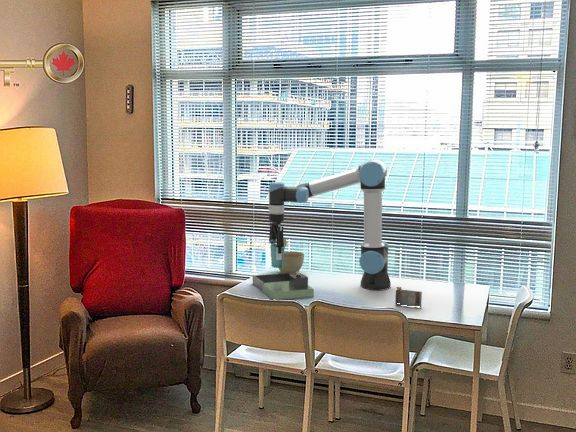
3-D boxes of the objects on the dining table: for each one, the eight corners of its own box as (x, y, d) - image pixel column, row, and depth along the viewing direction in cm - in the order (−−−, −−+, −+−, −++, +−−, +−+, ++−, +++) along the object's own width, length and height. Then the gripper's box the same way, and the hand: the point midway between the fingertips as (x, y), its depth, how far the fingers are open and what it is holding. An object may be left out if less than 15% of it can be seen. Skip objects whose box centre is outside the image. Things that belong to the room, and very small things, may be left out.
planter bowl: (307, 271, 360) (307, 252, 358) (299, 278, 344) (299, 258, 343) (280, 269, 365) (280, 250, 363) (270, 275, 349) (270, 255, 348)
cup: (274, 271, 318) (275, 241, 315) (261, 268, 322) (262, 239, 319) (289, 265, 330) (291, 236, 327) (277, 262, 334) (278, 234, 331)
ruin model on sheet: (394, 307, 294) (395, 286, 292) (396, 305, 296) (397, 284, 295) (419, 310, 289) (420, 288, 288) (421, 308, 292) (422, 287, 291)
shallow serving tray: (313, 296, 308) (313, 274, 306) (274, 300, 301) (274, 277, 299) (289, 280, 338) (289, 260, 337) (252, 283, 331) (252, 263, 330)
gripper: (262, 210, 330) (262, 254, 333) (276, 216, 311) (275, 262, 314) (276, 210, 333) (276, 253, 336) (290, 215, 314) (290, 261, 317)
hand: (276, 257), depth 325 cm, fingers closed on cup, 8 cm apart
